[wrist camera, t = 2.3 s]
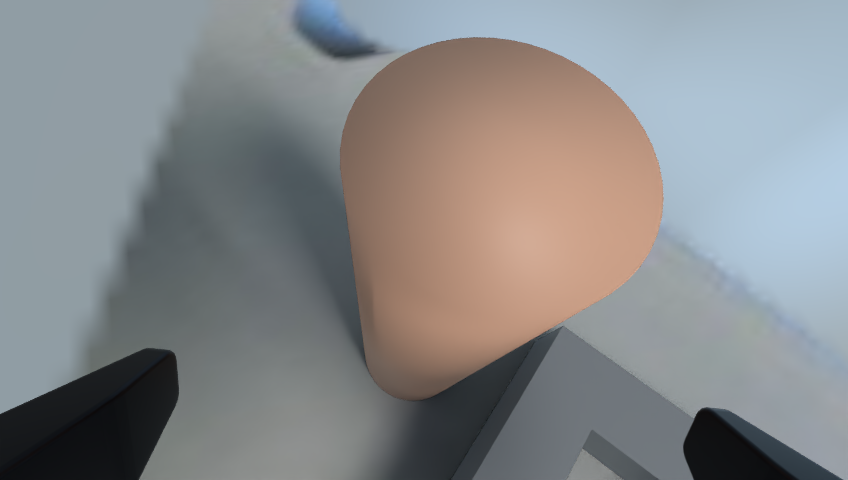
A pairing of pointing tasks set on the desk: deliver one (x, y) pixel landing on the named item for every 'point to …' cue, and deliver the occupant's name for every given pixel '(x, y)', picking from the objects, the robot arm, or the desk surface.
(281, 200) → the desk surface
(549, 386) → the socket block
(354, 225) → the peg
